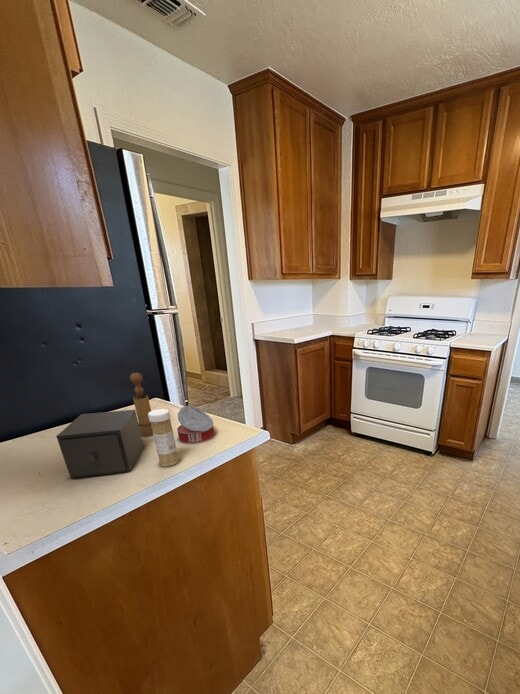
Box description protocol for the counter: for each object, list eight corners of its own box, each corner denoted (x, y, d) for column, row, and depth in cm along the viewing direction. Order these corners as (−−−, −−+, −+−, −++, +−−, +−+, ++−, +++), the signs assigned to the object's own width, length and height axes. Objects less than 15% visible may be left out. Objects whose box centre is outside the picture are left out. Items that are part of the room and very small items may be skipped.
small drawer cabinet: (130, 471, 83) (119, 429, 79) (70, 478, 80) (56, 436, 76) (143, 446, 96) (135, 409, 92) (92, 451, 93) (81, 414, 89)
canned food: (206, 443, 108) (218, 413, 108) (211, 452, 100) (223, 420, 99) (168, 432, 103) (180, 401, 102) (170, 441, 94) (182, 407, 93)
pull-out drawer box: (124, 473, 80) (114, 437, 77) (68, 480, 78) (55, 443, 75) (138, 446, 94) (131, 415, 90) (91, 452, 91) (81, 420, 88)
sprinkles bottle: (172, 457, 90) (161, 407, 84) (183, 461, 87) (173, 410, 82) (155, 464, 86) (143, 412, 81) (166, 469, 84) (154, 416, 79)
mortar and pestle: (135, 438, 101) (120, 376, 94) (136, 430, 107) (122, 371, 100) (160, 434, 104) (148, 374, 97) (160, 427, 109) (148, 369, 102)
